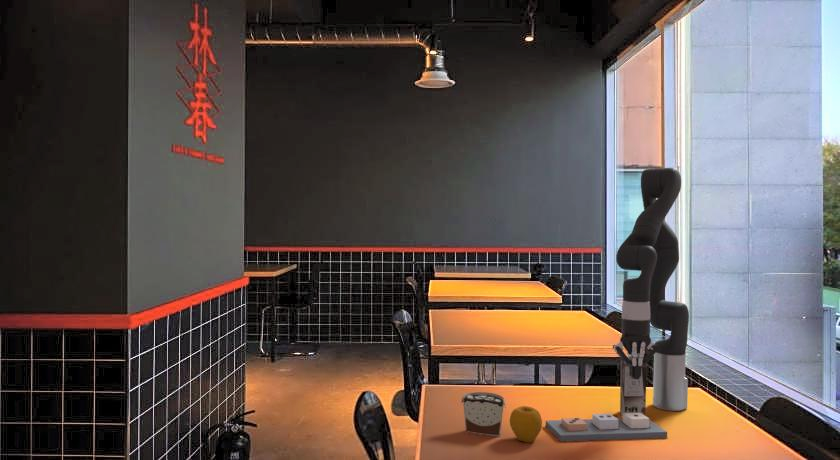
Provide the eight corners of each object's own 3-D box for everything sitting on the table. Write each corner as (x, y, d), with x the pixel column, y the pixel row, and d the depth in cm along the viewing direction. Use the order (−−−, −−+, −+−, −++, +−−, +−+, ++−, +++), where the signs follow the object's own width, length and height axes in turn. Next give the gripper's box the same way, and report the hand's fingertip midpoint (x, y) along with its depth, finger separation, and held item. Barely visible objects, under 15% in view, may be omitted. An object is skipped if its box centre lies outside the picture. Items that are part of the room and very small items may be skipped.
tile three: (579, 426, 174) (579, 416, 174) (586, 433, 169) (586, 423, 169) (561, 427, 173) (561, 417, 173) (568, 433, 168) (568, 423, 168)
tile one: (640, 421, 176) (640, 411, 176) (649, 427, 171) (649, 417, 171) (622, 422, 175) (622, 412, 175) (631, 428, 170) (631, 418, 170)
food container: (509, 429, 173) (510, 394, 172) (505, 437, 167) (505, 400, 167) (466, 424, 177) (466, 389, 176) (460, 431, 171) (461, 395, 171)
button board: (645, 423, 180) (645, 417, 180) (667, 437, 168) (667, 431, 168) (545, 426, 176) (545, 420, 176) (560, 441, 164) (560, 435, 164)
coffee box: (646, 422, 181) (647, 367, 180) (623, 420, 182) (624, 365, 182) (641, 412, 190) (642, 360, 189) (619, 411, 191) (620, 358, 190)
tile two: (609, 422, 175) (610, 412, 175) (618, 428, 170) (618, 418, 170) (592, 423, 174) (592, 413, 174) (600, 429, 169) (600, 419, 169)
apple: (507, 434, 169) (508, 401, 169) (538, 434, 169) (539, 402, 169) (511, 445, 161) (511, 411, 161) (544, 446, 160) (544, 412, 160)
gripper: (651, 314, 177) (651, 374, 178) (607, 315, 176) (606, 375, 176) (665, 318, 170) (664, 381, 170) (619, 319, 168) (618, 383, 169)
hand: (635, 378), depth 173 cm, fingers closed
